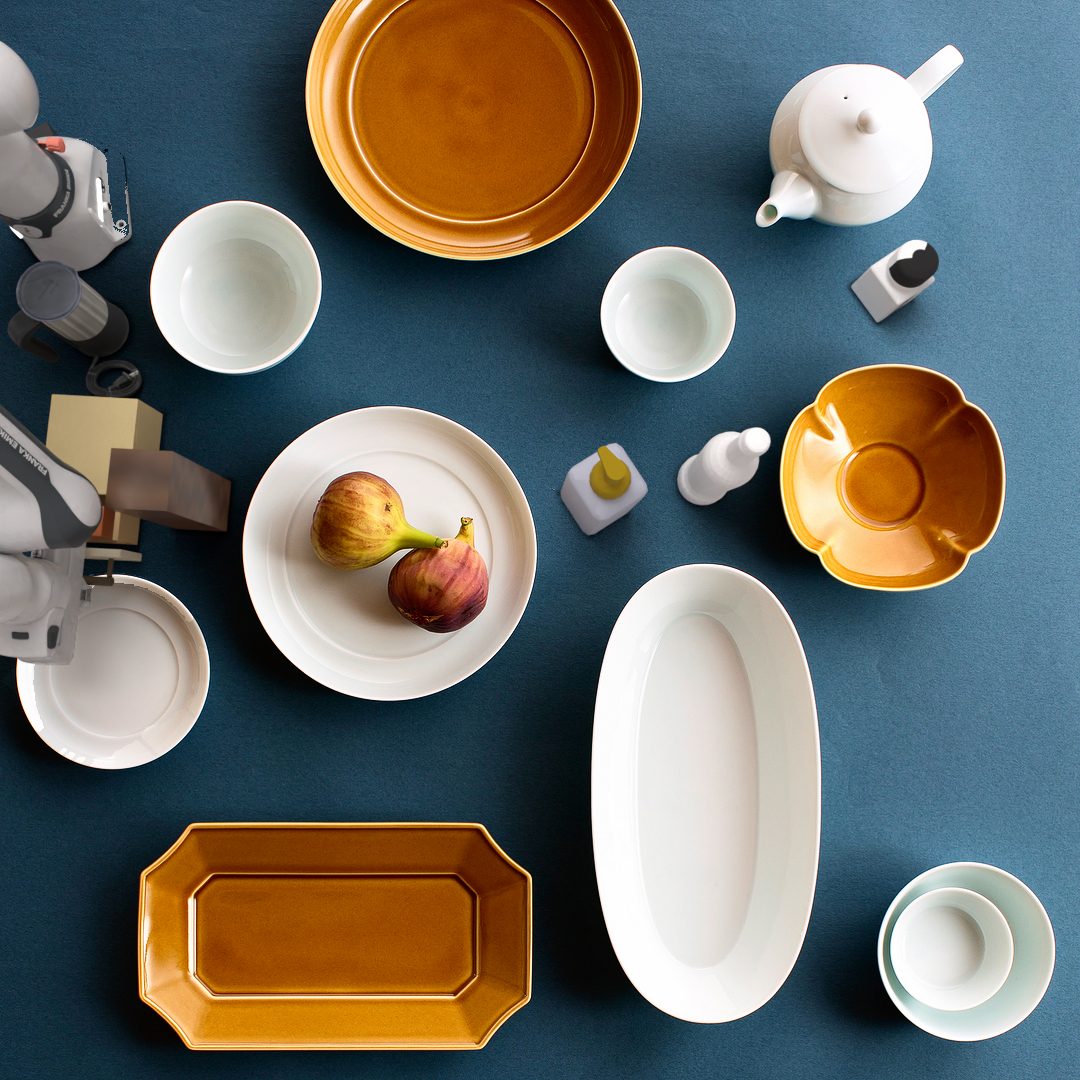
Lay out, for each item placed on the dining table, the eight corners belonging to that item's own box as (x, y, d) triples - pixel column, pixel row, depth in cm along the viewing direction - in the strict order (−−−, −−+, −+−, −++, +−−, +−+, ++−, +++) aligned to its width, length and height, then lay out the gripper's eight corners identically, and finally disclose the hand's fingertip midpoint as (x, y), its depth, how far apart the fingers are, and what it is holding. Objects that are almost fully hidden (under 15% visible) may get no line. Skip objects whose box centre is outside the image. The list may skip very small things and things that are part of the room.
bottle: (693, 448, 129) (749, 394, 99) (734, 476, 129) (802, 431, 99) (665, 487, 128) (713, 445, 98) (706, 516, 128) (767, 483, 98)
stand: (180, 478, 125) (110, 447, 103) (231, 481, 125) (173, 451, 104) (175, 529, 124) (104, 508, 102) (226, 531, 124) (167, 511, 103)
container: (912, 299, 133) (955, 264, 120) (876, 323, 133) (916, 291, 120) (885, 262, 134) (925, 224, 121) (849, 287, 133) (885, 250, 120)
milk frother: (93, 291, 128) (38, 247, 113) (176, 339, 127) (133, 302, 113) (43, 364, 126) (-19, 330, 111) (127, 413, 126) (77, 385, 111)
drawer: (138, 588, 122) (116, 586, 115) (63, 584, 122) (37, 582, 115) (150, 475, 124) (129, 467, 117) (76, 471, 124) (51, 462, 117)
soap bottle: (602, 463, 128) (625, 423, 103) (633, 509, 127) (663, 480, 103) (556, 492, 127) (568, 459, 102) (586, 539, 127) (606, 517, 102)
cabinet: (153, 504, 124) (127, 495, 116) (72, 500, 124) (40, 491, 115) (163, 414, 126) (138, 398, 118) (82, 409, 126) (51, 393, 117)
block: (91, 509, 122) (73, 504, 117) (120, 510, 122) (104, 506, 117) (87, 538, 122) (69, 534, 117) (117, 539, 122) (100, 536, 117)
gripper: (15, 511, 105) (72, 525, 119) (-4, 667, 103) (57, 662, 117) (64, 514, 105) (115, 527, 119) (46, 669, 103) (100, 664, 117)
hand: (86, 595), depth 118 cm, fingers closed
